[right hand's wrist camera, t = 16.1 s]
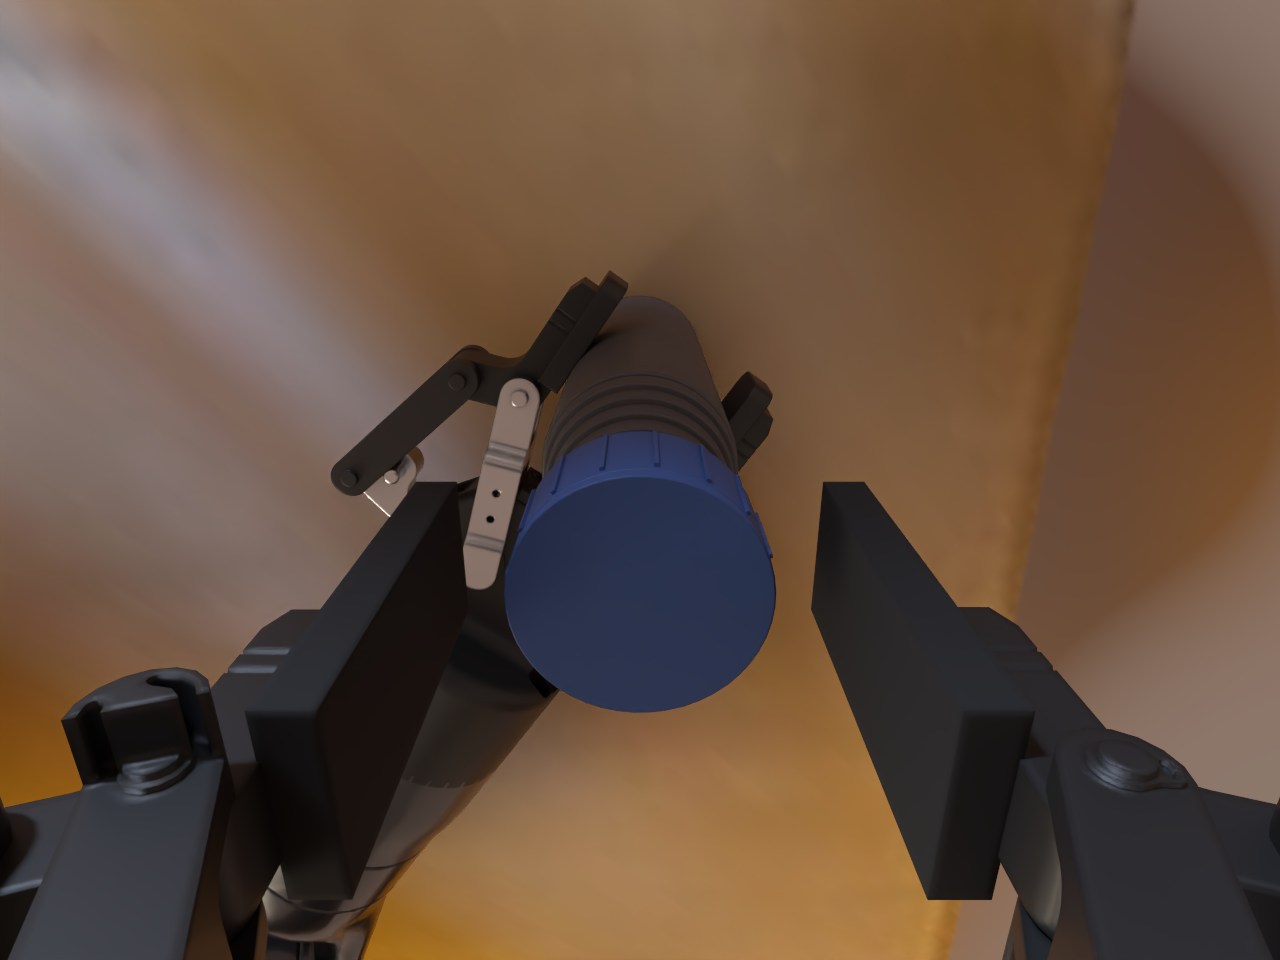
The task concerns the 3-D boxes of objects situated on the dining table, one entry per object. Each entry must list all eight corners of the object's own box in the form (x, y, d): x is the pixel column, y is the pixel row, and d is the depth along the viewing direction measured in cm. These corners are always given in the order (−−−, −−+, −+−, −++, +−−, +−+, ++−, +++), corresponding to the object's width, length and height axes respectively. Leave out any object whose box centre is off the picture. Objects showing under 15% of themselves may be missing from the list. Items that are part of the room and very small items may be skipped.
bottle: (595, 424, 31) (542, 720, 14) (567, 310, 30) (466, 487, 12) (709, 400, 31) (797, 674, 14) (687, 283, 29) (755, 429, 12)
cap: (806, 528, 15) (835, 588, 12) (652, 678, 16) (654, 756, 14) (626, 378, 14) (623, 416, 11) (476, 553, 15) (448, 615, 13)
